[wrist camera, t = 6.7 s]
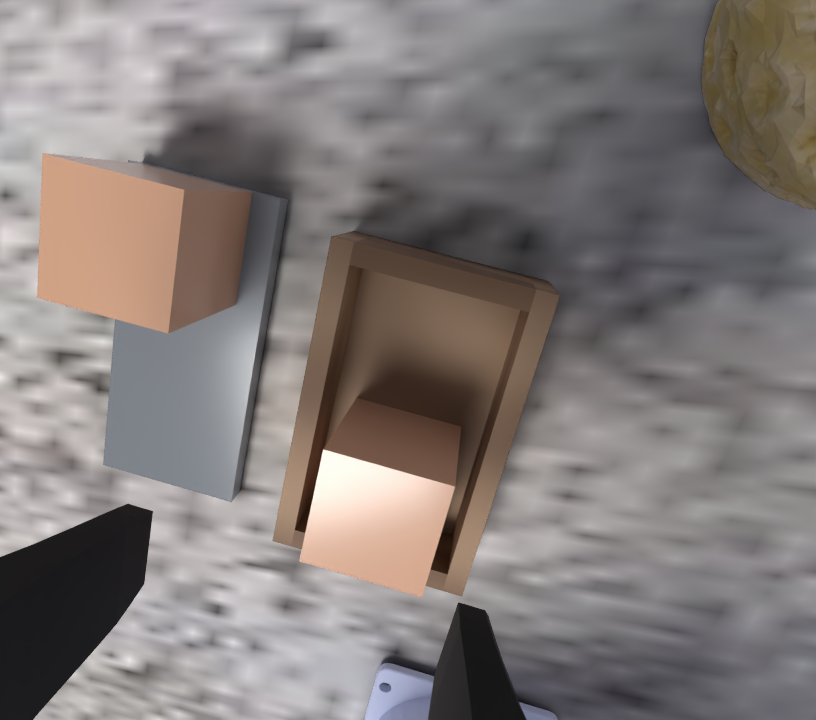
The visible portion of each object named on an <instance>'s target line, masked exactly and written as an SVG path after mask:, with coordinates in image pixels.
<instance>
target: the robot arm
mask: <svg viewBox="0 0 816 720" xmlns="http://www.w3.org/2000/svg"><path fill="white" fill-rule="evenodd" d="M152 514H153V511H150V510H147V509H143V508H140V507H137V506H133V505H130V504H126V505H124V506H121V507H119V508H116V509H114V510H112V511H109V512H107V513H105V514H102V515H100V516H98V517H96V518H93V519H91V520H89V521H87V522H84V523H82V524H80V525H77V526H75V527H73V528H71V529H68V530H66V531H64V532H61V533H59V534H57V535H54V536H52V537H50V538H47V539H45V540H43V541H40V542H38V543H35V544H33V545H31V546H28V547H25V548H23V549H20V550H18V551H15V552H12V553H10V554H7V555H5V556H2V557H0V720H33V719H34V718H35V716H36V715H37V714H38V713H39V712H40V711H41V710H42V708H43V707H44V706H45V705H46V704H47V703H48V702H49V700H50V699H51V698H52V697H53V696H54V695H55V694H56V693H57V691H58V690H59V689H60V688H61V687H62V686H63V685H64V683H65V682H66V681H67V680H68V679H69V678H70V677H71V676H72V674H73V673H74V672H75V671H76V670H77V669H78V668H79V667H80V665H81V664H82V663H83V662H84V661H85V660H86V659H87V657H88V656H89V655H90V654H91V653H92V652H93V651H94V649H95V648H96V647H97V646H98V645H99V644H100V643H101V641H102V640H103V639H104V638H105V637H106V636H107V634H108V633H109V632H110V631H111V630H112V629H113V627H114V626H115V625H116V624H117V622H118V621H119V620H120V618H121V617H122V615H123V614H124V613H125V611H126V610H127V608H128V607H129V606H130V604H131V603H132V601H133V600H134V598H135V597H136V595H137V594H138V592H139V591H140V589H141V588H142V586H143V585H144V581H145V572H146V564H147V555H148V547H149V539H150V530H151V522H152ZM383 683H388V684H390V685H385V684H383ZM364 720H558V719H557V716H556V715H555V714H554V713H552V712H550V711H547V710H544V709H540V708H537V707H534V706H531V705H527V704H524V703H521V702H519V701H518V698H517V696H516V693H515V691H514V688H513V686H512V684H511V681H510V679H509V676H508V673H507V671H506V668H505V665H504V663H503V660H502V657H501V654H500V651H499V648H498V645H497V642H496V639H495V636H494V633H493V630H492V627H491V623H490V620H489V616H488V615H487V613H486V611H485V610H482V609H479V608H475V607H472V606H469V605H465V604H462V603H459V602H458V605H457V608H456V611H455V614H454V617H453V620H452V623H451V626H450V629H449V632H448V635H447V638H446V641H445V644H444V647H443V650H442V653H441V656H440V659H439V662H438V665H437V668H436V671H435V675H434V676H431V675H428V674H425V673H421V672H418V671H415V670H411V669H408V668H405V667H402V666H398V665H395V664H392V663H384V664H382V665H381V666H380V667H379V668H378V671H377V675H376V678H375V682H374V685H373V689H372V692H371V696H370V699H369V703H368V706H367V710H366V714H365V717H364Z"/></svg>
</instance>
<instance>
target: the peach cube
mask: <svg viewBox="0 0 816 720" xmlns="http://www.w3.org/2000/svg"><path fill="white" fill-rule="evenodd" d="M460 434H461V426H457V425H453V424H450V423H446V422H443V421H439V420H435V419H432V418H428V417H424V416H421V415H417V414H414V413H410V412H406V411H403V410H399V409H395V408H392V407H388V406H385V405H381V404H377V403H374V402H370V401H367V400H363V399H359V398H356V399H355V401H354V403H353V404H352V406H351V407H350V409H349V410H348V412H347V413H346V415H345V416H344V418H343V420H342V421H341V423H340V424H339V426H338V427H337V429H336V430H335V432H334V434H333V435H332V437H331V438H330V440H329V441H328V443H327V444H326V446H325V447H324V449H323V453H322V458H321V462H320V467H319V472H318V476H317V481H316V486H315V490H314V495H313V500H312V504H311V509H310V514H309V518H308V523H307V528H306V532H305V537H304V542H303V546H302V551H301V556H300V560H299V561H301V562H304V563H307V564H311V565H314V566H318V567H321V568H324V569H328V570H331V571H335V572H338V573H341V574H345V575H348V576H351V577H355V578H358V579H362V580H365V581H368V582H372V583H375V584H379V585H382V586H385V587H389V588H392V589H396V590H399V591H402V592H406V593H409V594H412V595H416V596H419V597H422V596H423V592H424V589H425V586H426V582H427V579H428V576H429V572H430V569H431V566H432V562H433V559H434V556H435V552H436V549H437V546H438V542H439V539H440V536H441V532H442V529H443V526H444V522H445V519H446V516H447V512H448V509H449V506H450V503H451V499H452V496H453V493H454V489H455V484H456V474H457V464H458V454H459V444H460Z"/></svg>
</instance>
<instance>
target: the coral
mask: <svg viewBox="0 0 816 720" xmlns="http://www.w3.org/2000/svg"><path fill="white" fill-rule="evenodd" d="M701 81H702V94H703V100H704V104H705V107H706V109H707V112H708V115H709V124H710V126H711V128H712V130H713V133H714V135H715V137H716V139H717V141H718V143H719V145H720V146H721V149H722V151H723V154H724V156H726V157H727V158H728V159H729V160H730V161H731V162H733V163H734V164H735V165H736V166H737V167H738V168H740V170H741V171H742V172H743V173H744V174H745V175H746V176H748V177H749V178H750V179H751V180H753V181H754V182H755V183H756V184H757V185H758V186H760V187H761V188H762V189H763V190H764V191H767V192H769V193H771V194H773V195H775V196H776V197H777V198H780V199H783V200H786V201H789V202H793V203H796V204H797V205H799V206H801V207H802V208H807V209H812V210H816V0H718V1H717V4H716V5H715V9H714V13H713V16H712V19H711V22H710V25H709V28H708V31H707V34H706V37H705V43H704V58H703V66H702V79H701Z"/></svg>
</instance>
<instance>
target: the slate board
mask: <svg viewBox="0 0 816 720" xmlns="http://www.w3.org/2000/svg"><path fill="white" fill-rule="evenodd" d="M128 162H129V163H138V164H144V165H148V166H152V167H156V168H160V169H164V170H167V171H171V172H175V173H179V174H183V175H187V176H191V177H195V178H199V179H203V180H206V181H210V182H214V183H218V184H222V185H226V186H230V187H234V188H238V189H242V190H245V191H249V192H252V198H251V205H250V212H249V219H248V225H247V232H246V239H245V246H244V252H243V259H242V266H241V273H240V280H239V286H238V293H237V300H236V305H235V306H233V307H230V308H228V309H225V310H223V311H221V312H218V313H216V314H214V315H211V316H209V317H206V318H204V319H202V320H199V321H197V322H195V323H192V324H190V325H187V326H185V327H183V328H180V329H178V330H176V331H173V332H171V333H164V332H161V331H157V330H153V329H150V328H146V327H142V326H139V325H135V324H131V323H128V322H124V321H121V320H117V319H115V327H114V339H113V352H112V364H111V376H110V389H109V401H108V413H107V426H106V438H105V450H104V463H103V465H105V466H109V467H112V468H116V469H119V470H123V471H126V472H130V473H133V474H136V475H140V476H143V477H147V478H150V479H154V480H157V481H161V482H164V483H167V484H171V485H174V486H178V487H181V488H185V489H188V490H192V491H195V492H198V493H202V494H205V495H209V496H212V497H216V498H219V499H223V500H226V501H229V502H232V500H233V499H234V498H235V497H236V496H237V494H238V493H239V492H240V486H241V480H242V474H243V468H244V462H245V456H246V450H247V444H248V438H249V432H250V426H251V420H252V414H253V408H254V402H255V396H256V390H257V384H258V378H259V372H260V366H261V360H262V354H263V348H264V342H265V337H266V331H267V325H268V319H269V313H270V307H271V301H272V295H273V289H274V283H275V277H276V271H277V265H278V259H279V253H280V247H281V241H282V235H283V229H284V223H285V217H286V211H287V205H288V199H284V198H280V197H277V196H273V195H269V194H265V193H261V192H257V191H253V190H249V189H245V188H241V187H238V186H234V185H230V184H226V183H222V182H218V181H214V180H210V179H206V178H202V177H198V176H195V175H191V174H187V173H183V172H179V171H175V170H171V169H167V168H163V167H159V166H156V165H152V164H148V163H144V162H138V161H129V160H128Z"/></svg>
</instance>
